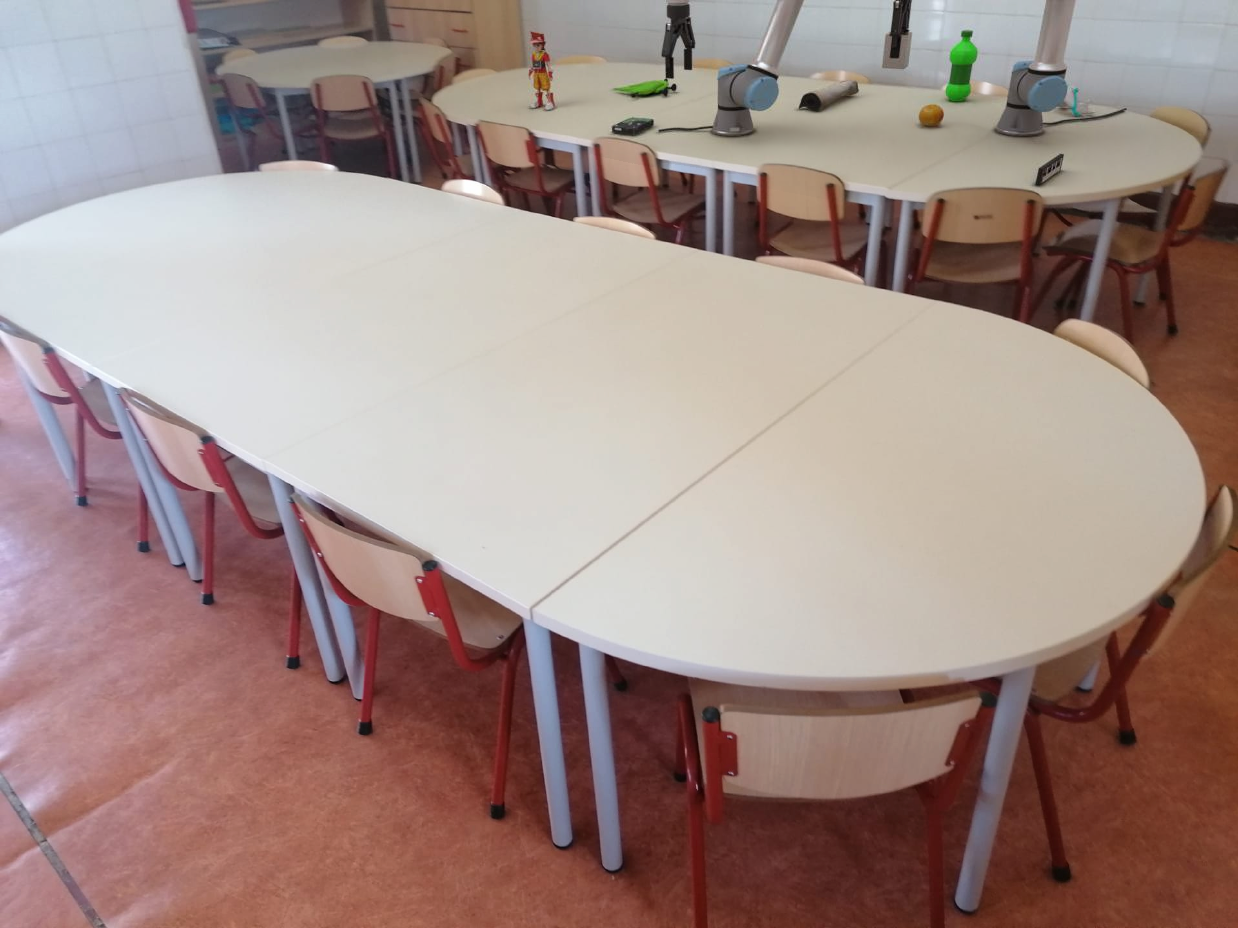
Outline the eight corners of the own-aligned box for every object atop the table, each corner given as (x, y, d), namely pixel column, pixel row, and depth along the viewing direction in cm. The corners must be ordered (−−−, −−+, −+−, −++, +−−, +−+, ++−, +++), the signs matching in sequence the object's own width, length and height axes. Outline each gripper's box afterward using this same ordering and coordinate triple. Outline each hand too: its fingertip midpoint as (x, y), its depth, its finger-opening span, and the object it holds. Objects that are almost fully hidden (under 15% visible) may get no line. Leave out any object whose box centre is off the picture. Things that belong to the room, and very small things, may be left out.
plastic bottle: (975, 99, 356) (987, 30, 342) (958, 104, 351) (969, 35, 337) (955, 95, 363) (965, 28, 349) (937, 100, 358) (947, 32, 344)
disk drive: (634, 136, 338) (654, 126, 348) (634, 128, 336) (654, 118, 346) (611, 133, 343) (631, 123, 353) (611, 126, 341) (631, 116, 351)
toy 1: (525, 109, 381) (517, 32, 364) (534, 104, 388) (527, 28, 371) (550, 110, 377) (543, 32, 360) (559, 105, 384) (553, 28, 367)
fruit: (913, 117, 326) (928, 97, 323) (915, 120, 333) (929, 101, 330) (933, 130, 324) (947, 110, 321) (933, 133, 332) (948, 113, 329)
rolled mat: (834, 85, 375) (850, 69, 367) (846, 103, 376) (863, 88, 367) (794, 103, 358) (811, 87, 350) (807, 122, 358) (824, 107, 350)
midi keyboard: (1039, 185, 269) (1043, 168, 266) (1035, 184, 270) (1038, 168, 267) (1060, 170, 279) (1064, 154, 277) (1056, 169, 280) (1060, 153, 277)
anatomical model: (1050, 84, 335) (1077, 77, 334) (1049, 112, 341) (1076, 105, 340) (1070, 94, 323) (1098, 86, 322) (1069, 123, 328) (1096, 115, 328)
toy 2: (686, 85, 398) (631, 84, 414) (685, 72, 395) (629, 72, 411) (651, 104, 381) (596, 103, 397) (650, 92, 378) (594, 91, 394)
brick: (881, 68, 295) (885, 34, 289) (886, 65, 298) (890, 31, 292) (903, 69, 291) (907, 35, 286) (908, 66, 295) (912, 32, 289)
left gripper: (670, 10, 279) (672, 83, 291) (705, -2, 296) (705, 67, 308) (649, 10, 282) (651, 81, 294) (685, -3, 299) (685, 66, 311)
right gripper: (909, -20, 272) (900, 62, 285) (925, -28, 284) (915, 51, 298) (885, -20, 275) (876, 61, 288) (902, -28, 288) (893, 50, 301)
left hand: (679, 74), depth 301 cm, fingers open, 13 cm apart
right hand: (896, 56), depth 293 cm, fingers closed on brick, 5 cm apart
